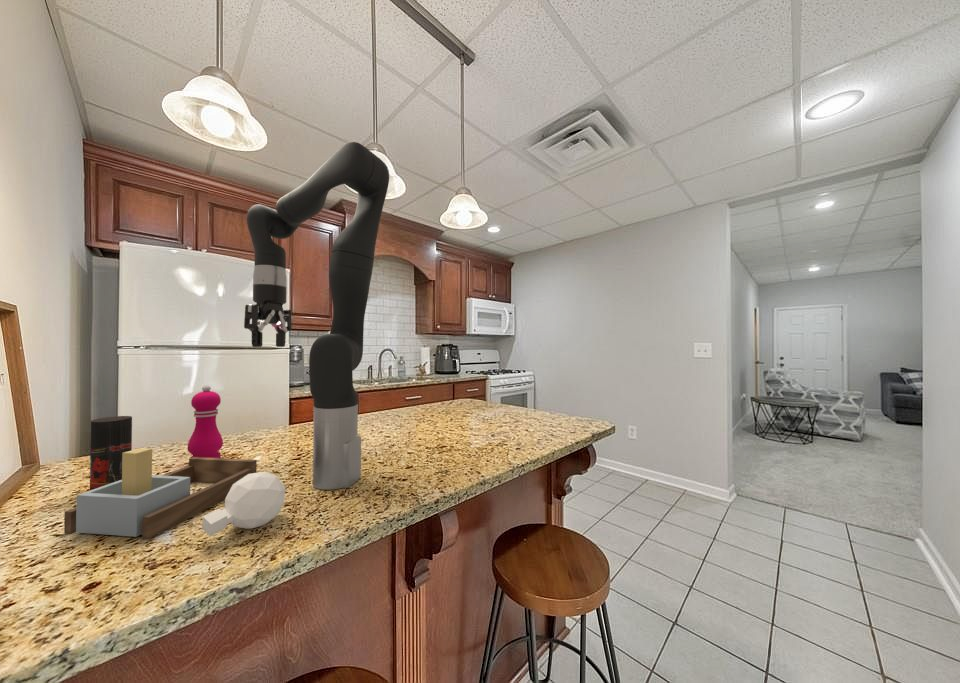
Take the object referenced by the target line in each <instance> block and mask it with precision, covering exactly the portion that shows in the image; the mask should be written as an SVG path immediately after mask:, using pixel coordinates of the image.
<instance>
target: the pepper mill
mask: <svg viewBox="0 0 960 683" xmlns="http://www.w3.org/2000/svg"><path fill="white" fill-rule="evenodd" d="M211 388H212V387H211V386H210V385H203V386H202V388H201V391H200V392H198V393H196V394H195V395H193V396H192V397H191V398H192V399H191V402H190V403H191V407H192V408H193V409H194V411H193V417H194V418H195V426H194V430H193V431H192V434H191V436H190V438H189V440H188V443H187V451H188V453H189V454H191V456H190V457H189V459H190V458H193V457H204V458H221V452H219V451H220V450H221V449H222V448H223V446H224V441H223V436H222V434H221V433H220V431H219V429H218V426H217V415H218V414H219V412H218V411H219V408H218V407H219V406H220V405H221V399H222V398H221V396H220V394H218V392H215V391H213V390H211Z"/></svg>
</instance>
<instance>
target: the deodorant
mask: <svg viewBox="0 0 960 683" xmlns="http://www.w3.org/2000/svg"><path fill="white" fill-rule="evenodd" d="M132 438H133V416H131V415H117V416H108V417H100V418H95V419H92V420H90V451H89V452H90V453H89V454H90V455H89V456H90V457H89V462H90V463H89V491H90V490H93V489H96V488H99V487H102V486H105V485H108V484H110V483H113V482H116V481H119V480H122V453H124V452H128V451H131V450H133V446H132V445H133V444H132V443H133V440H132Z"/></svg>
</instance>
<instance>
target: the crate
mask: <svg viewBox="0 0 960 683" xmlns="http://www.w3.org/2000/svg"><path fill="white" fill-rule="evenodd" d="M189 495H191V483H190V477H180V476H162V475H157V474H156V475H155V474H153V448H144V447H142V448H141V447H140V448H135V449H132V450H131V451H128V452H124V453H122V480H119V481H116V482H113V483H110V484H108V485H105V486H102V487H99V488H96V489H93V490H90V489H89V490H88V491H84V492H82V493H79V494H77V495H76V497H75V498H76V499H75V500H76V501H75V502H76V503H75V508H76V532H75V533H77V534H78V533H81V534H93V535H104V536H105V535H107V536H108V535H109V536H121V537H133V538H135V537H136V538H137V537H139V536H140V535H141V536H142V517H143V516H145V515H148V514H150V513H152V512H154V511H156V510H158V509H161V508H163V507H165V506H167V505H169V504H171V503H174V502H176V501H178V500H180V499H182V498H184V497H186V496H189Z"/></svg>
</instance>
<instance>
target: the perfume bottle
mask: <svg viewBox="0 0 960 683" xmlns="http://www.w3.org/2000/svg"><path fill="white" fill-rule="evenodd" d="M285 495H286V485H285V484H284V483H283V482H282V481H281V479H280V478H279V477H278V476H277V475H275V474H273V473H270V472H268V471H259V472H256V473H252V474H248V475H246V476H245V477H243V478H242V479H240V480H239V481H237V482H236V483H234V484H233V485H232V487H231V489H230V491H229V493H228V495H227V496H226V498H225V499H224V508H222V509H221V508H217V509H215V510H213V511H211V512H209V513H207V514H205V515H203V516H202V525H201V530H203V532H205V533H206V534H207V535H208V536H209V537H212V536H214V535H216V534H217V533H219V532H222V531H223V530H225V529H227V528H228V525H229V524H230V523H231V525H232V526H233V527H236V528H241V529H245V530H249V529H254V528H259V527H263V526H265V525H267V524H268V523H269V522H271V521H272V520H273V519H275V517H277V516H278V515H279V514H280V512H281V510H282V508H283V506H284V504H285V500H286V499H285V498H286V496H285Z"/></svg>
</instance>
